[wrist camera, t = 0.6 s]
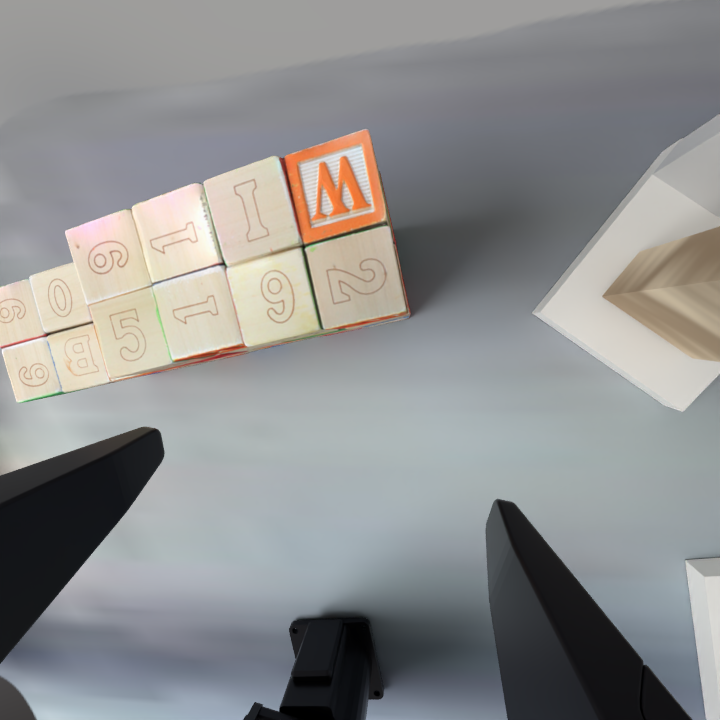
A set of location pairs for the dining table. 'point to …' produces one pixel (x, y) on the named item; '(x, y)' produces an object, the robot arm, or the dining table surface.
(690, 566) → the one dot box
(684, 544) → the dining table surface
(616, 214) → the white l-shaped holder
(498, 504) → the robot arm
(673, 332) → the two dot key
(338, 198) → the stack of blocks
